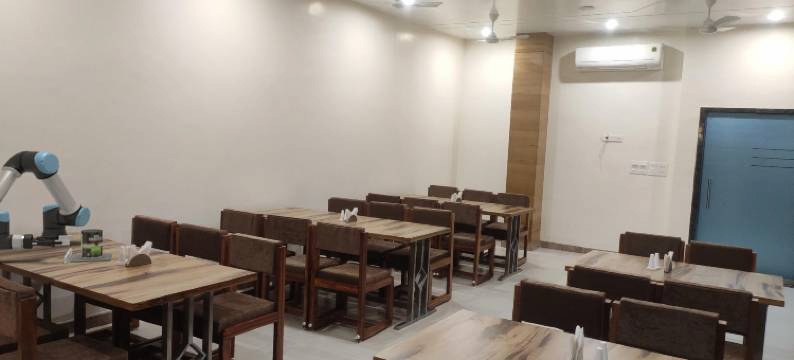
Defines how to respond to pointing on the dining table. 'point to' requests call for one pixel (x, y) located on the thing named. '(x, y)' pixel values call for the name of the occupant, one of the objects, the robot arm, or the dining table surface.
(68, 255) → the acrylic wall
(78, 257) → the mat
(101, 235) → the coffee can
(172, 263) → the dining table surface
